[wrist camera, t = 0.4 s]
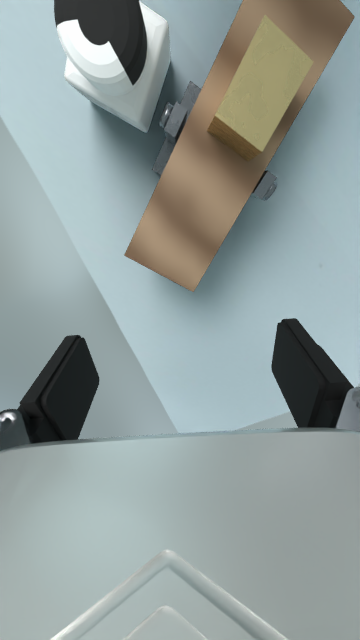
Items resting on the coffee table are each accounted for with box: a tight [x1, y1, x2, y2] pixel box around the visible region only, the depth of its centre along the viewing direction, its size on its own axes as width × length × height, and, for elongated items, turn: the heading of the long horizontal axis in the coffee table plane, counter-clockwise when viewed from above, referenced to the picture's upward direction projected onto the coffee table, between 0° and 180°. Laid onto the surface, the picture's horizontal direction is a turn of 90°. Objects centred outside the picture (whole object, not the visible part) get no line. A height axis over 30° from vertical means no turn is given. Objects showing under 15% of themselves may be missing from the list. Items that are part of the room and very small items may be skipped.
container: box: [54, 0, 171, 133], centre depth 23 cm, size 8×8×13 cm
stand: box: [152, 81, 277, 200], centre depth 30 cm, size 19×14×10 cm
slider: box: [207, 15, 313, 161], centre depth 21 cm, size 7×5×4 cm
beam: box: [124, 0, 354, 292], centre depth 25 cm, size 28×9×2 cm, turn 149°
